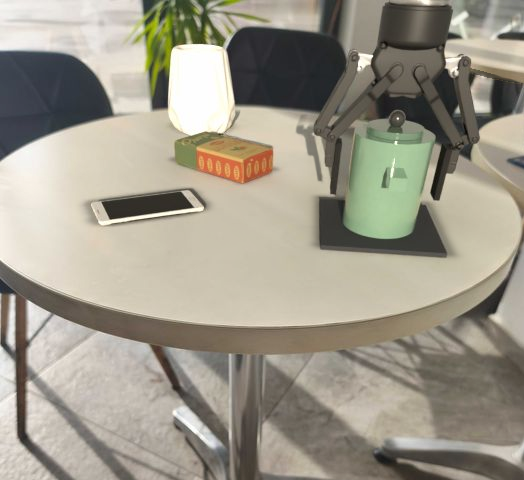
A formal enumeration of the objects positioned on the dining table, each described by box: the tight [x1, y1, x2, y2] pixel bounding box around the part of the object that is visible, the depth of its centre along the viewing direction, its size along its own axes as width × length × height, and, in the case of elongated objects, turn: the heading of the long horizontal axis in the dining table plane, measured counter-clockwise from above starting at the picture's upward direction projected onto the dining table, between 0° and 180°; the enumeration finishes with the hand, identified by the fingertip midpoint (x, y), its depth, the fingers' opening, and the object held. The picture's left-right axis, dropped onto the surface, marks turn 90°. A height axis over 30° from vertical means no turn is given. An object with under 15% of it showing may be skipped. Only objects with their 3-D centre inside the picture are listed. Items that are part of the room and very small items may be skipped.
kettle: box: [342, 109, 437, 239], centre depth 65 cm, size 17×10×15 cm, turn 175°
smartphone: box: [90, 189, 205, 226], centre depth 72 cm, size 8×1×15 cm
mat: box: [319, 198, 448, 259], centre depth 69 cm, size 16×16×1 cm
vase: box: [167, 43, 236, 136], centre depth 102 cm, size 14×14×15 cm
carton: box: [173, 131, 274, 184], centre depth 86 cm, size 8×16×4 cm, turn 51°
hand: (383, 194), depth 67 cm, fingers open, 13 cm apart
